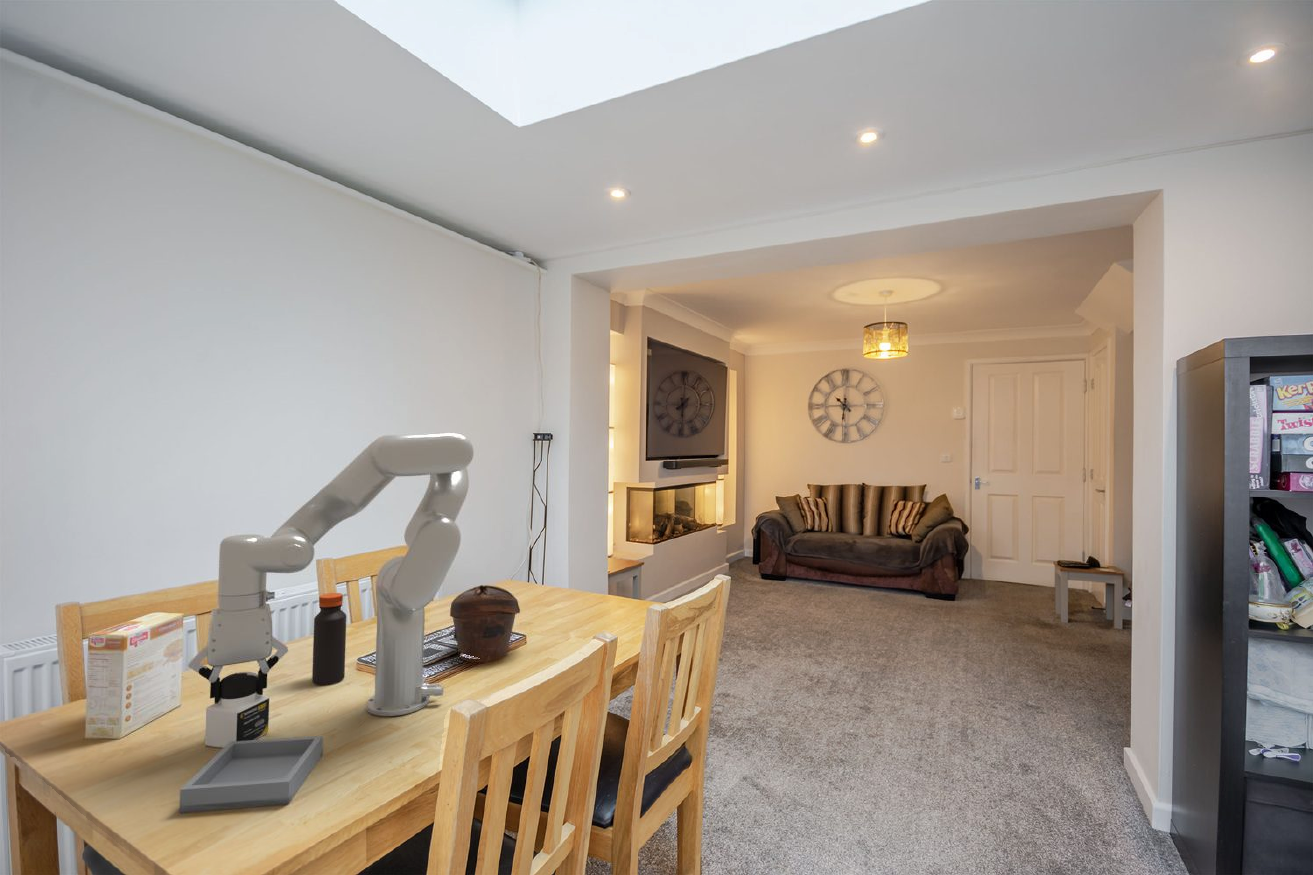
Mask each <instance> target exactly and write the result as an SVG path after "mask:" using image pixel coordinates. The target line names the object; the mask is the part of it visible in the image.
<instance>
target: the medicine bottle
mask: <svg viewBox="0 0 1313 875" xmlns="http://www.w3.org/2000/svg"><path fill="white" fill-rule="evenodd" d="M269 716H270V696H268V695H264V694H263V695H260V696H259V695H258V673H256V672H252V671H241V672H235V673H231V674H228V675H226V676H224V677H223V678H222V679H220V696H219V702H218V703H217V704H215V703H213V704H211V705H209V706H207V707H206V710H205V737H204V738H205V739H204V742H205V743H204V745H205V746H206V747H214V748H221V749H223V748H224V747H225V746H226V745H227V744H228V743H229V742H231V741H247V740H259V739H260V738H261V737H263V736H265V735H267V734H268V733H269V723H270V722H269V720H270V718H269Z"/></svg>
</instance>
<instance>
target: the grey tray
mask: <svg viewBox="0 0 1313 875" xmlns="http://www.w3.org/2000/svg"><path fill="white" fill-rule="evenodd" d="M323 745H324V735H315V736H314V735H313V736H311V735H310V736H299V737H298V736H297V737H281V738H265V739H256V740H247V741H231V742H229V743H228V744H227V745H226V746H225V747H224V748H221V749H220V750H219V752H217V754H215V755H214V756H213V757H212V759H210V760H209V762H207V763H206V764H205V765H204V766H203V767H202V768H201V769H200V770H199V771H198V772H197V773H196V774H195V775H194V776H193V777H191V779H190V780H188V781H187V782H186V784H184V786H183V787H181V788H180V790H179V810H178V811H179V812H178V813H179V814H186V813H198V812H210V811H221V810H233V809H234V810H235V809H246V808H255V807H256V808H258V807H269V806H272V807H273V806H282V805H289V804H290V803H291V801H293V798H294V797H295V795H296V794H297V792H298V791H299V790H300V788H301V787H302V785H303V784H304V782H306V780H307V778H308V777H309V775H310V774H311V773H312V771H313V770H314V768H315V767H316V765H317V764H318V763H319V761H320V759H322V757H323V749H324V748H323Z"/></svg>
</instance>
